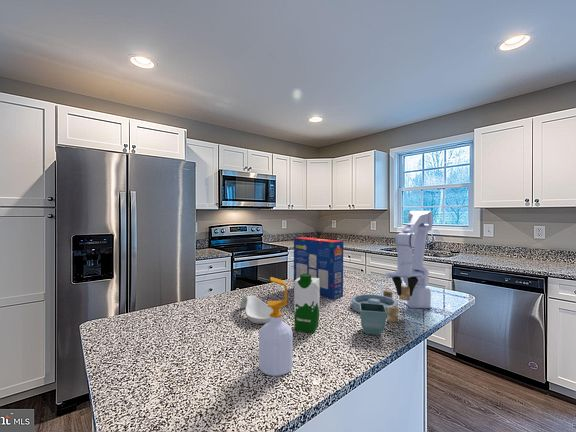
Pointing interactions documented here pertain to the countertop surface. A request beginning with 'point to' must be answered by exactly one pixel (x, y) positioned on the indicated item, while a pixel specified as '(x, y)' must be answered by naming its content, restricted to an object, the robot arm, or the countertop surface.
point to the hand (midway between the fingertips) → (404, 295)
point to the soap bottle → (276, 340)
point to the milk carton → (306, 303)
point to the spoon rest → (256, 309)
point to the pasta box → (320, 264)
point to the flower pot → (373, 318)
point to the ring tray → (372, 301)
